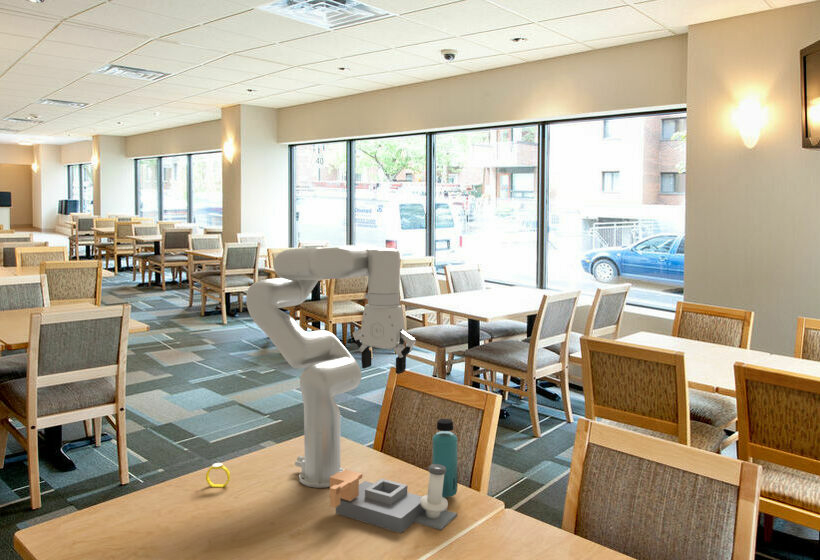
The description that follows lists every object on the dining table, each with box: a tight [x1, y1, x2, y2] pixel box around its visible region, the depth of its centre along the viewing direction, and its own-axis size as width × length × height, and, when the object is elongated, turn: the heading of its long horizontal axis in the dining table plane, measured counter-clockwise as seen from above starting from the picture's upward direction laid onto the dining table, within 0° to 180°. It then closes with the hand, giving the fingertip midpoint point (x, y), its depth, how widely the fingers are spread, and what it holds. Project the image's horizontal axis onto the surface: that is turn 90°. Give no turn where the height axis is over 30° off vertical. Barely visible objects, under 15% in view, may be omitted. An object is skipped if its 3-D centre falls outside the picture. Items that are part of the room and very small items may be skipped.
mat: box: [414, 509, 458, 531], centre depth 149 cm, size 8×8×1 cm
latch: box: [329, 469, 363, 509], centre depth 150 cm, size 6×11×5 cm, turn 150°
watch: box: [205, 462, 231, 488], centre depth 165 cm, size 6×3×6 cm, turn 89°
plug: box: [420, 463, 449, 519], centre depth 148 cm, size 6×6×12 cm
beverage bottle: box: [431, 418, 459, 498], centre depth 159 cm, size 6×7×20 cm
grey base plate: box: [335, 478, 426, 534], centre depth 151 cm, size 18×12×6 cm, turn 60°
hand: (383, 369), depth 154 cm, fingers open, 9 cm apart
